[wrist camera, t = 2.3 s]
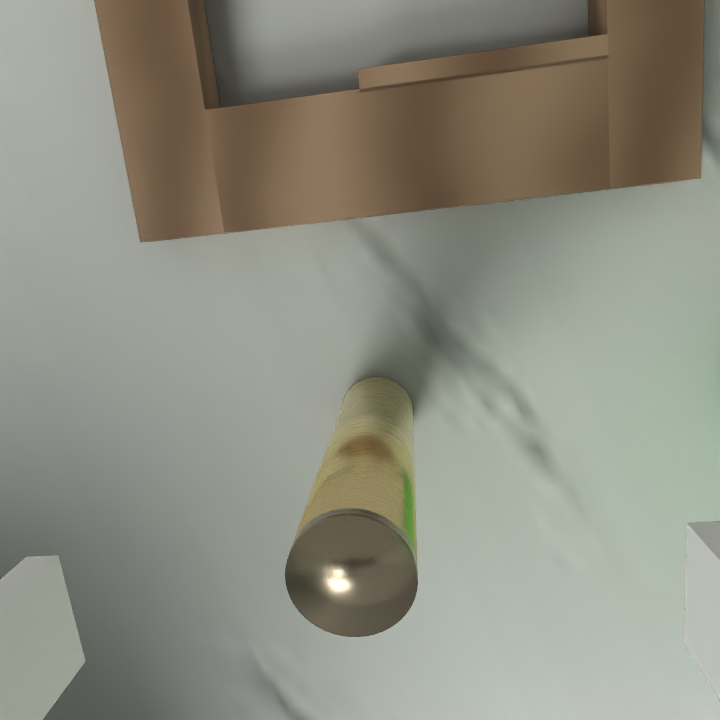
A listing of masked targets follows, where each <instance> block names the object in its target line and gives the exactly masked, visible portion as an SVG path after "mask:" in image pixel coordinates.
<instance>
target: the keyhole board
mask: <svg viewBox="0 0 720 720" xmlns="http://www.w3.org/2000/svg"><path fill="white" fill-rule="evenodd" d="M704 1H705V0H588V23H589V37H583V38H576V39H569V40H562V41H555V42H547V43H540V44H533V45H526V46H519V47H512V48H505V49H498V50H490V51H483V52H476V53H469V54H462V55H455V56H448V57H441V58H433V59H426V60H419V61H412V62H405V63H398V64H391V65H384V66H376V67H369V68H362V69H357V71H358V80H359V89H355V90H347V91H340V92H333V93H325V94H318V95H311V96H303V97H296V98H289V99H282V100H274V101H267V102H260V103H252V104H245V105H238V106H230V107H223V108H220V102H219V95H218V88H217V82H216V75H215V69H214V62H213V56H212V49H211V43H210V36H209V30H208V23H207V16H206V10H205V3H204V0H94V2H95V7H96V12H97V18H98V23H99V28H100V33H101V39H102V44H103V49H104V54H105V60H106V65H107V70H108V75H109V81H110V86H111V91H112V96H113V102H114V107H115V112H116V117H117V122H118V128H119V133H120V138H121V143H122V149H123V154H124V159H125V164H126V170H127V175H128V180H129V185H130V191H131V196H132V201H133V206H134V212H135V217H136V222H137V227H138V233H139V238H140V242H149V241H161V240H170V239H179V238H188V237H196V236H205V235H214V234H223V233H231V232H240V231H249V230H258V229H266V228H275V227H284V226H293V225H301V224H310V223H319V222H328V221H336V220H345V219H354V218H362V217H371V216H380V215H389V214H397V213H406V212H415V211H424V210H432V209H441V208H450V207H459V206H467V205H476V204H485V203H494V202H502V201H511V200H520V199H529V198H537V197H546V196H555V195H564V194H572V193H581V192H590V191H599V190H607V189H616V188H625V187H634V186H642V185H651V184H660V183H668V182H677V181H684V180H691V179H698V178H701V152H702V101H703V51H704Z"/></svg>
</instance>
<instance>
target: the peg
mask: <svg viewBox="0 0 720 720" xmlns="http://www.w3.org/2000/svg"><path fill="white" fill-rule="evenodd" d="M285 580H286V586H287V590H288V593H289V596H290V598H291V600H292V602H293V604H294V605H295V607H296V608H297V609H298V611H299V612H300V613H301V614H302V615H303V616H304V617H305V618H306V619H307V620H308V621H310V622H311V623H312V624H314V625H315V626H317V627H319V628H321V629H323V630H325V631H327V632H330V633H333V634H337V635H341V636H348V637H362V636H369V635H374V634H377V633H380V632H383V631H385V630H387V629H389V628H390V627H392V626H393V625H395V624H396V623H397V622H399V621H400V620H401V619H402V618H403V617H404V616H405V615H406V613H407V612H408V611H409V609H410V607H411V606H412V604H413V601H414V599H415V596H416V592H417V585H418V578H417V543H416V509H415V474H414V440H413V408H412V402H411V399H410V397H409V395H408V393H407V392H406V391H405V389H404V388H403V387H402V386H401V385H399V384H398V383H397V382H395V381H393V380H391V379H388V378H384V377H369V378H366V379H363V380H361V381H359V382H357V383H356V384H354V385H353V386H352V387H351V388H350V389H349V391H348V392H347V394H346V396H345V398H344V401H343V403H342V406H341V409H340V412H339V415H338V418H337V420H336V423H335V426H334V429H333V432H332V435H331V437H330V440H329V443H328V446H327V449H326V452H325V454H324V457H323V460H322V463H321V466H320V469H319V471H318V474H317V477H316V480H315V483H314V486H313V488H312V491H311V494H310V497H309V500H308V503H307V505H306V508H305V511H304V514H303V517H302V520H301V522H300V525H299V528H298V531H297V534H296V537H295V539H294V542H293V545H292V548H291V551H290V554H289V556H288V559H287V563H286V569H285Z"/></svg>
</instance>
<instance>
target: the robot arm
mask: <svg viewBox="0 0 720 720" xmlns="http://www.w3.org/2000/svg"><path fill="white" fill-rule="evenodd" d="M684 645H685V646H686V648H687V649H688V651H689V653H690V654H691V656H692V657H693V659H694V661H695V662H696V664H697V665H698V667H699V669H700V670H701V672H702V673H703V675H704V677H705V678H706V680H707V681H708V683H709V684H710V686H711V688H712V689H713V691H714V692H715V694H716V696H717V697H718V699H719V700H720V521H715V522H696V523H687V534H686V582H685V629H684ZM85 662H86V661H85V657H84V653H83V649H82V645H81V641H80V637H79V633H78V630H77V626H76V622H75V618H74V614H73V610H72V606H71V602H70V599H69V595H68V591H67V587H66V583H65V579H64V575H63V571H62V568H61V564H60V560H59V556H58V555H50V556H30V557H25V558H24V559H23V560H22V561H21V562H20V563H18V564H17V565H16V566H15V567H14V568H13V569H12V570H10V571H9V572H8V573H7V574H6V575H5V576H4V577H3V578H1V579H0V720H43V719H44V717H45V716H46V715H47V713H48V712H49V710H50V709H51V708H52V706H53V705H54V704H55V702H56V701H57V700H58V698H59V697H60V696H61V694H62V693H63V691H64V690H65V689H66V687H67V686H68V685H69V683H70V682H71V681H72V679H73V678H74V676H75V675H76V674H77V672H78V671H79V670H80V668H81V667H82V666H83V664H84V663H85Z"/></svg>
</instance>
